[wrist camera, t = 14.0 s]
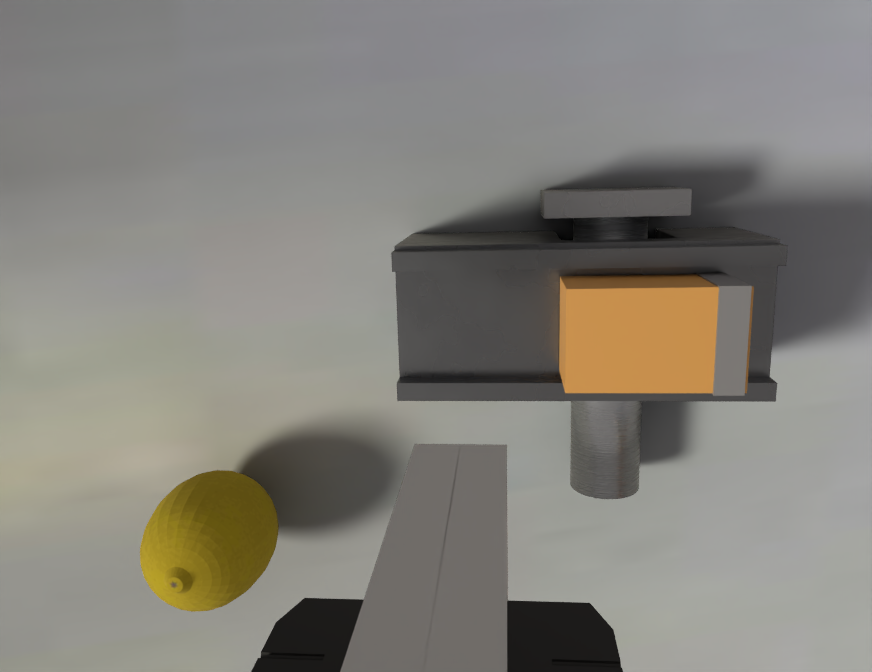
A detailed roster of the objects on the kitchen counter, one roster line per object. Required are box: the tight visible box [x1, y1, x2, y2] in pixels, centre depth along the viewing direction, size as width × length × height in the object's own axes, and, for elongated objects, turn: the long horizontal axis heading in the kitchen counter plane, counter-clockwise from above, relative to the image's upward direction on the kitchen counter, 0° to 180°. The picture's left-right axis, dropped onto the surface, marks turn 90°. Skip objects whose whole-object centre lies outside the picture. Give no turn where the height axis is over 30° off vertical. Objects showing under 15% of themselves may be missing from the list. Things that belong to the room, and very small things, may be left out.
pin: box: [541, 187, 692, 499], centre depth 32 cm, size 13×6×3 cm, turn 2°
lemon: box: [140, 470, 278, 611], centre depth 33 cm, size 6×6×8 cm
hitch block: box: [392, 227, 787, 401], centre depth 30 cm, size 6×14×6 cm, turn 92°
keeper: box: [559, 273, 754, 396], centre depth 26 cm, size 4×6×3 cm, turn 92°
